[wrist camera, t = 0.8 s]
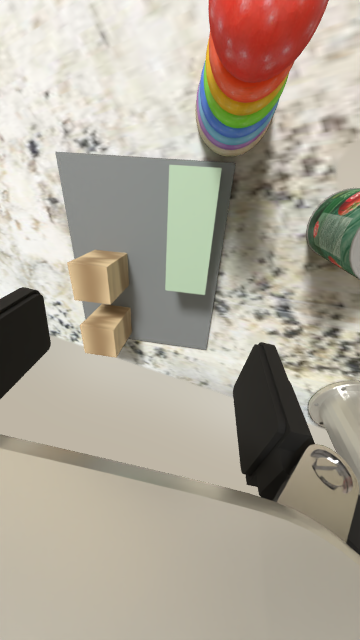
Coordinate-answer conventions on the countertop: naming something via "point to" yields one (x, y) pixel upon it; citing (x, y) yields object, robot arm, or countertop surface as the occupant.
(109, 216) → the mat
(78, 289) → the pillar
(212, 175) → the beam
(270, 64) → the stacking toy
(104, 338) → the pillar
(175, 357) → the countertop surface
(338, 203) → the canned tomato
